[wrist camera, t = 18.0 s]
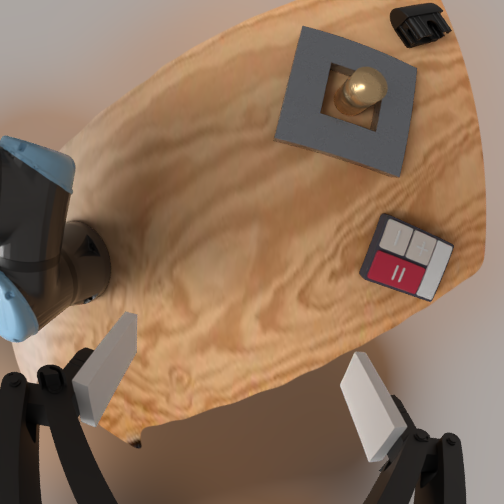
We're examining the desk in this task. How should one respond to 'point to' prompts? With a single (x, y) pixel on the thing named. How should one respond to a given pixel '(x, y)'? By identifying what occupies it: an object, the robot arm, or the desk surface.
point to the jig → (338, 131)
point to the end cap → (419, 24)
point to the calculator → (406, 258)
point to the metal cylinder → (360, 91)
